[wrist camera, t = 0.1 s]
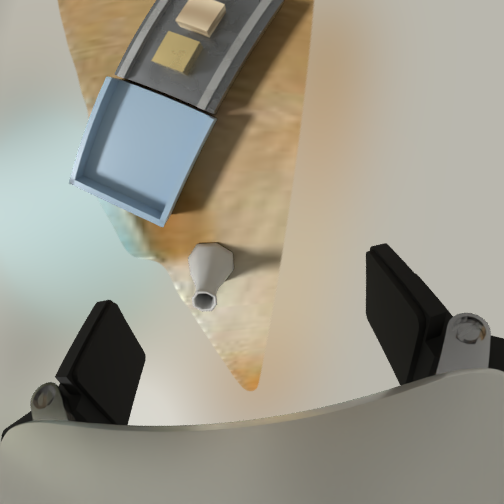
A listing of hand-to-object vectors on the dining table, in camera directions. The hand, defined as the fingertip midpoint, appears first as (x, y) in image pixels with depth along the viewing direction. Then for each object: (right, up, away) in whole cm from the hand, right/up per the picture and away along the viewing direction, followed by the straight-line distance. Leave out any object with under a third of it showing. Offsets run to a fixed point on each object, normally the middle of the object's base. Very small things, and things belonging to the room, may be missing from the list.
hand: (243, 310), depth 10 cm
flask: (-6, 0, +35) cm, 35 cm away
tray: (-14, +16, +26) cm, 34 cm away
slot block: (-6, +30, +19) cm, 36 cm away
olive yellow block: (-8, +25, +17) cm, 31 cm away
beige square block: (-5, +29, +15) cm, 34 cm away
